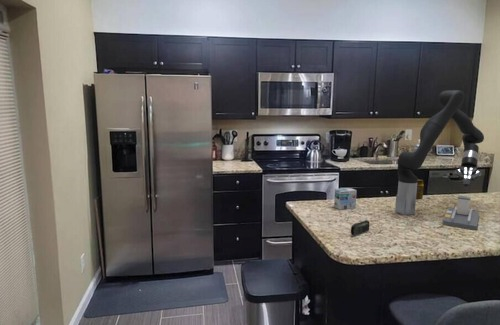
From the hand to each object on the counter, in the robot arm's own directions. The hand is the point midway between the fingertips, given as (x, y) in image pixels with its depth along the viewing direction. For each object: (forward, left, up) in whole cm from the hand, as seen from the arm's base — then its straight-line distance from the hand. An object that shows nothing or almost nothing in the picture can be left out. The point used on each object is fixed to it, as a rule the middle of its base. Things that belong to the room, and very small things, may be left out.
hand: (466, 185), depth 185 cm
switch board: (-12, -8, -15) cm, 21 cm away
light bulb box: (-54, +32, -16) cm, 65 cm away
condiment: (+1, +32, -16) cm, 36 cm away
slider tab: (-8, -6, -13) cm, 16 cm away
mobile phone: (-73, -3, -16) cm, 75 cm away
